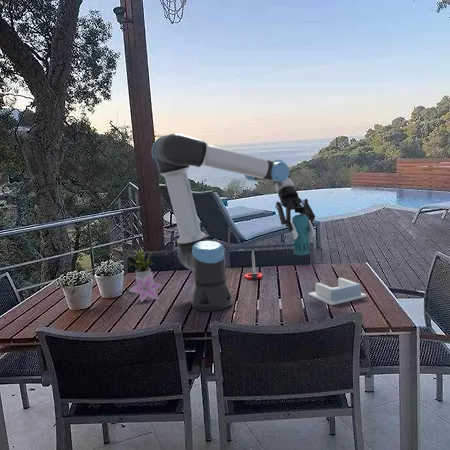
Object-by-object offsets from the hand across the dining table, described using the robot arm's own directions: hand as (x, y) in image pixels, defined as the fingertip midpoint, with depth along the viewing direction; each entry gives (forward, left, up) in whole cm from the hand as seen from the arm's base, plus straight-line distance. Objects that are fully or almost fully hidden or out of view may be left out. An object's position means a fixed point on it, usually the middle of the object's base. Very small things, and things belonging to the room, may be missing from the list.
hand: (304, 235), depth 166 cm
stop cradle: (+6, -10, -22) cm, 25 cm away
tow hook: (-7, +33, -23) cm, 40 cm away
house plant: (-53, +57, -23) cm, 81 cm away
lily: (-56, +32, -23) cm, 69 cm away
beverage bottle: (+1, +4, -9) cm, 10 cm away
